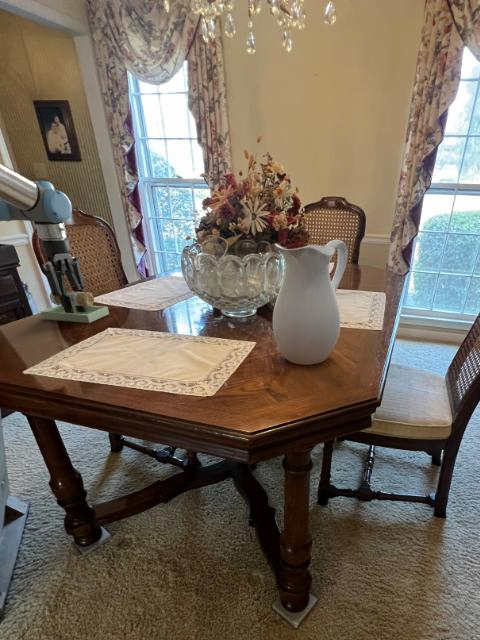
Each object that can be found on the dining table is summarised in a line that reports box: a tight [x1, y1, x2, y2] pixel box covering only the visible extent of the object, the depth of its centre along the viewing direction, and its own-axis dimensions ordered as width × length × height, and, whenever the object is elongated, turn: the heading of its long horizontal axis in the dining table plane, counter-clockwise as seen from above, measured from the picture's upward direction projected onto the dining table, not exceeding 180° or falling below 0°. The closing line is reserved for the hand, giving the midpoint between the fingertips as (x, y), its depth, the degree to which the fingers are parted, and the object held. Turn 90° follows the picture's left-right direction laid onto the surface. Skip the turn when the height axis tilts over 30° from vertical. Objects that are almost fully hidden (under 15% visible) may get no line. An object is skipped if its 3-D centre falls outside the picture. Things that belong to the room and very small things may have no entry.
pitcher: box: [272, 239, 349, 366], centre depth 94 cm, size 24×17×28 cm
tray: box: [40, 305, 110, 324], centre depth 127 cm, size 18×10×2 cm, turn 78°
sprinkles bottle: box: [49, 290, 95, 306], centre depth 125 cm, size 5×5×14 cm
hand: (76, 313), depth 127 cm, fingers closed on sprinkles bottle, 4 cm apart
